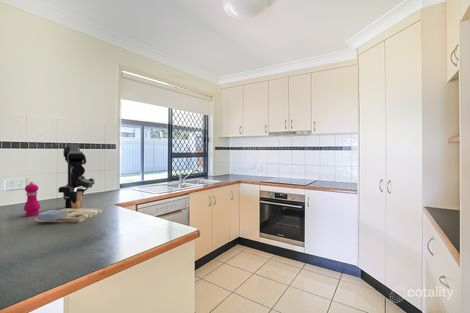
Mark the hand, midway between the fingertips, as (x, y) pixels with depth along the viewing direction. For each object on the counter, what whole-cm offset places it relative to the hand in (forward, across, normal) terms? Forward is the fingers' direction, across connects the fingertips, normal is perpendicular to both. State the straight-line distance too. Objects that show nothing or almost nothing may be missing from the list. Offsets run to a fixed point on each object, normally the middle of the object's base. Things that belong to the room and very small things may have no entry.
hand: (76, 202), depth 127 cm
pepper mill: (+10, +7, +33) cm, 35 cm away
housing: (+7, -4, +11) cm, 13 cm away
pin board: (+10, +5, +8) cm, 13 cm away
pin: (+3, 0, 0) cm, 3 cm away
